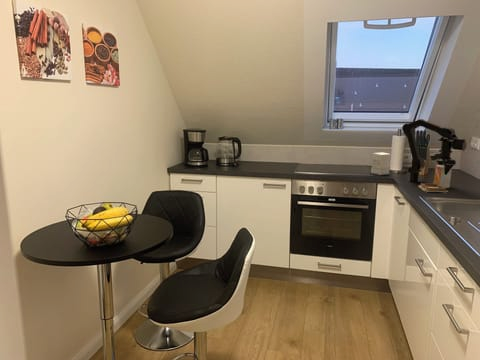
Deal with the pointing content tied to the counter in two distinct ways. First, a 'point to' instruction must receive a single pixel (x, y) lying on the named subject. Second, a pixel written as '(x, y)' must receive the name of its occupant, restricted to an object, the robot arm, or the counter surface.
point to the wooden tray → (432, 187)
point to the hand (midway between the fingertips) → (442, 173)
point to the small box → (442, 176)
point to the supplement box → (380, 163)
